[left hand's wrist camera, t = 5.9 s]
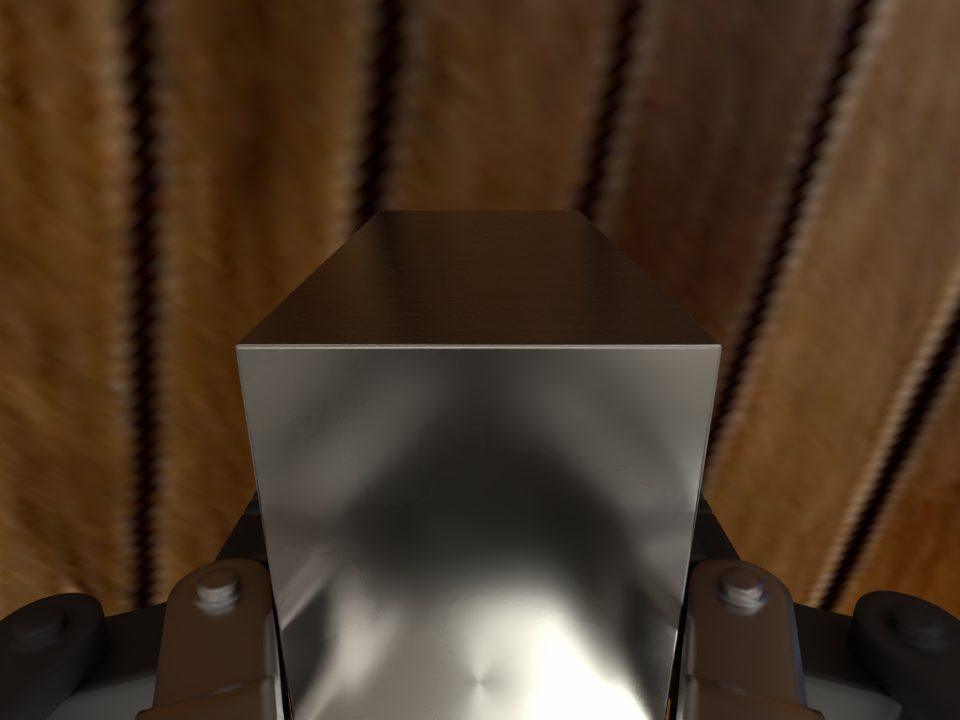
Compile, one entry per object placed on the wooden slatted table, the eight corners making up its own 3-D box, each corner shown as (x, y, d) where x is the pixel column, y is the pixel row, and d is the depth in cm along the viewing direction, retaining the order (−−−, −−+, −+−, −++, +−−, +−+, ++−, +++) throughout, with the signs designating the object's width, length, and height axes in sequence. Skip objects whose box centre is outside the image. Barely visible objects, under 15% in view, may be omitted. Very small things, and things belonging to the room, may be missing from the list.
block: (397, 521, 19) (319, 901, 10) (379, 210, 15) (232, 345, 6) (561, 521, 19) (639, 900, 10) (580, 210, 15) (725, 344, 6)
